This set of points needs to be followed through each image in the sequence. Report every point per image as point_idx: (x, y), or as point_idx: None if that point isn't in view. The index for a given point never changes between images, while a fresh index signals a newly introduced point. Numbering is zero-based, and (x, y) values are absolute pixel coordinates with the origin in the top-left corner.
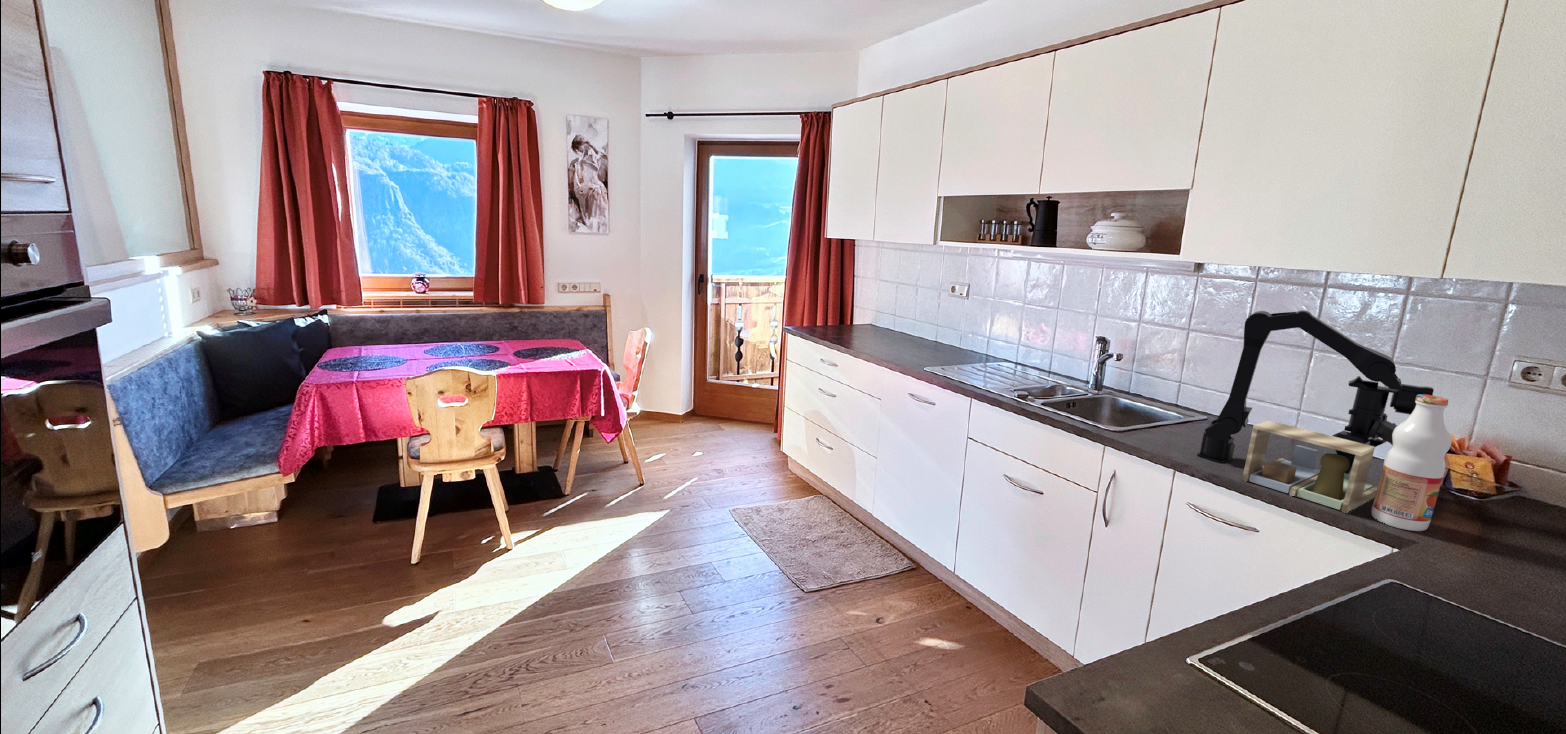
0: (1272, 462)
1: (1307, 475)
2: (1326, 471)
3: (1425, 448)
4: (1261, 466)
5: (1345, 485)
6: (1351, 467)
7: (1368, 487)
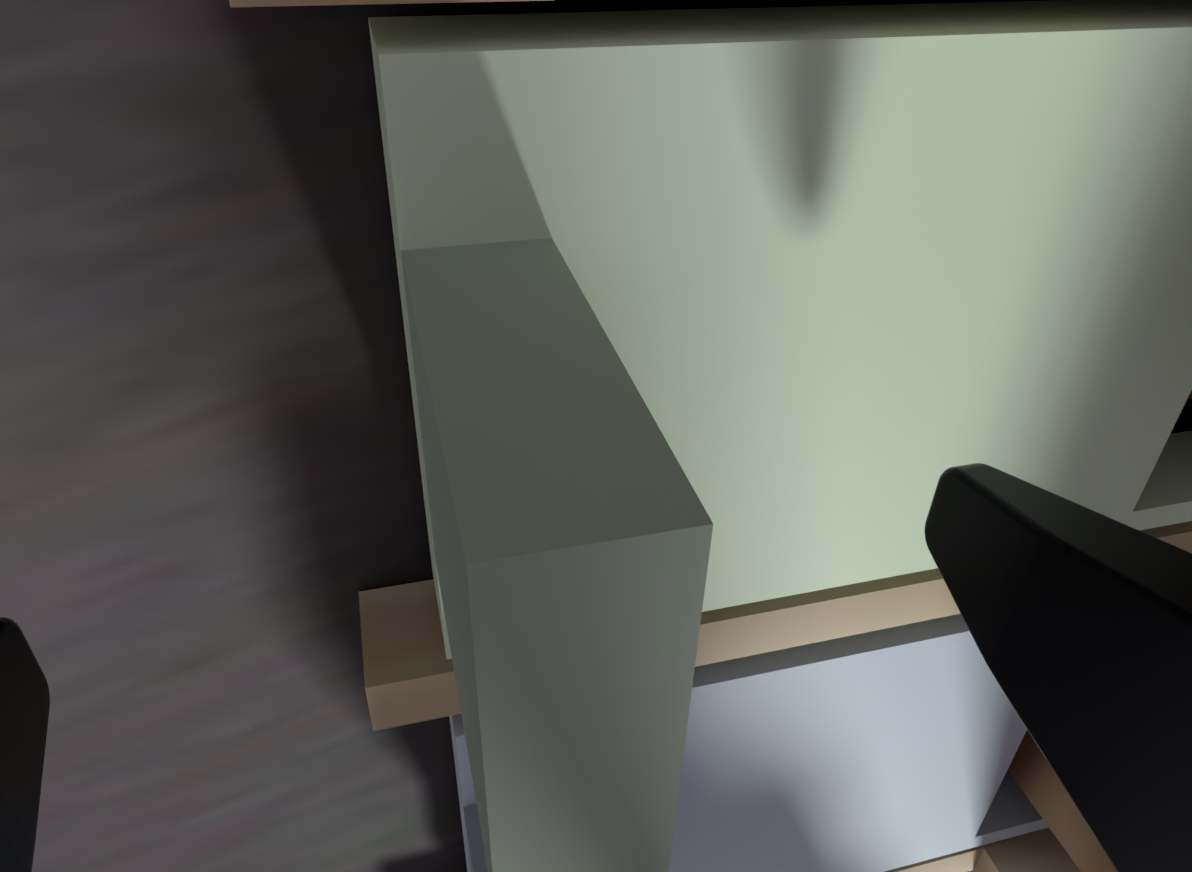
0: None
1: (881, 674)
2: None
3: None
4: (1034, 866)
5: (939, 313)
6: (1135, 542)
7: (691, 52)
